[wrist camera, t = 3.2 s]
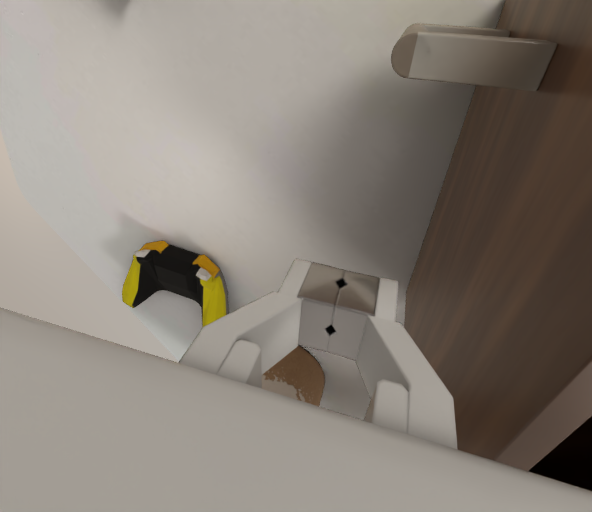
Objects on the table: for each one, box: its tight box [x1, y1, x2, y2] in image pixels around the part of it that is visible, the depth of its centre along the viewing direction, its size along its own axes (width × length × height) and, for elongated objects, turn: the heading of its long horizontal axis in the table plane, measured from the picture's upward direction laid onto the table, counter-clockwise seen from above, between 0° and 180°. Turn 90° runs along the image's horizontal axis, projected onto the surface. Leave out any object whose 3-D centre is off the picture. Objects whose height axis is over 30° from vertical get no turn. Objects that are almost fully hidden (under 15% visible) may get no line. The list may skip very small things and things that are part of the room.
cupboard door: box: [391, 0, 592, 471], centre depth 21 cm, size 7×26×24 cm, turn 177°
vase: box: [262, 346, 325, 406], centre depth 47 cm, size 15×15×17 cm
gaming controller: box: [122, 241, 229, 327], centre depth 44 cm, size 15×6×10 cm
